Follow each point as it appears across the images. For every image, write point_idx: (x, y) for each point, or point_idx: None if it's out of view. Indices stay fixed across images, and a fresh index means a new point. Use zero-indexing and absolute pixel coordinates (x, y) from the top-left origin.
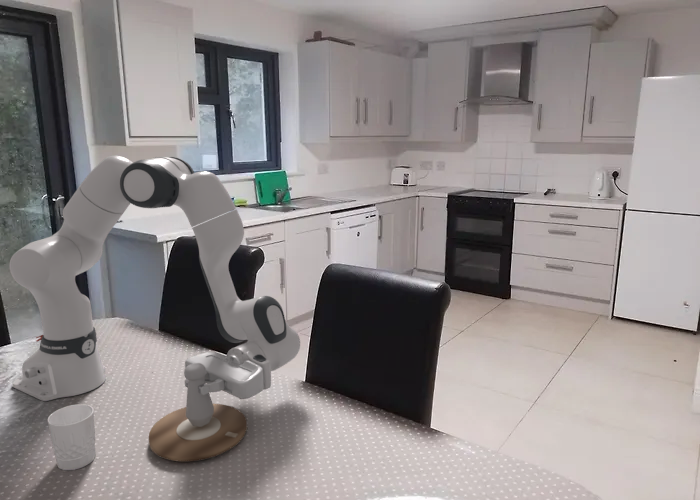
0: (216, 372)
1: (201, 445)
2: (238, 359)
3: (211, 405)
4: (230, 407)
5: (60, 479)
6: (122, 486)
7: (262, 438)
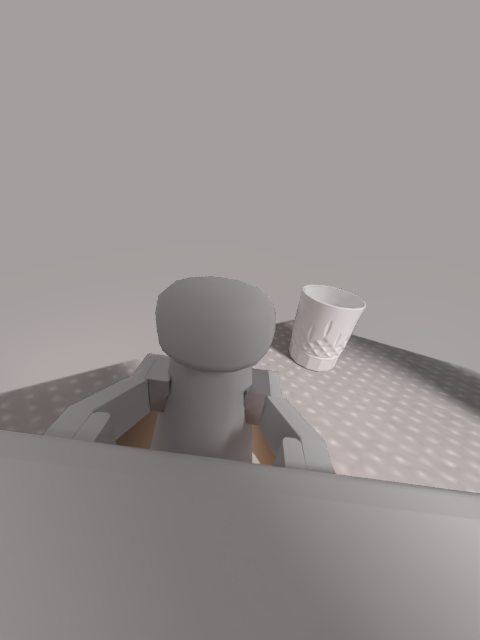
0: (128, 458)
1: (140, 432)
2: None
3: None
4: None
5: (284, 337)
6: None
7: None
